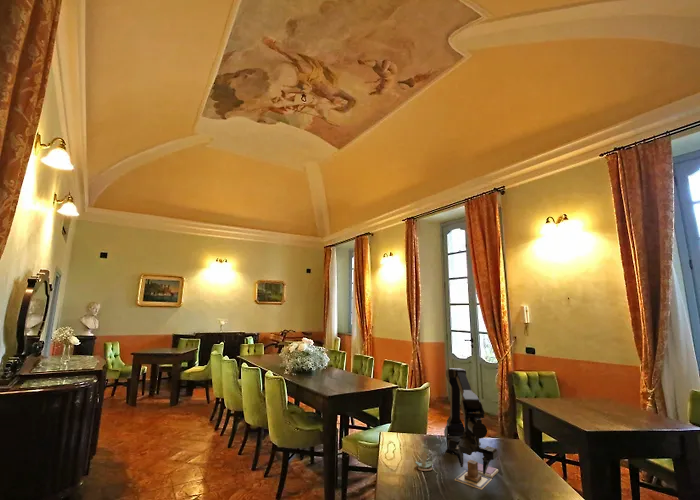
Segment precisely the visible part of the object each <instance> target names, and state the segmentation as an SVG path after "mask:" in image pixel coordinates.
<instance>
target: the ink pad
mask: <svg viewBox="0 0 700 500" xmlns="http://www.w3.org/2000/svg"><path fill="white" fill-rule="evenodd" d="M498 473H499V469H498V468H495V467H493V466H489V465H488V467H487V470H486V473H485V475H484V474H483V463H479V462H478V474H480V475H482V476H485V477H488V478H491V479H492V478H494V476H496V475H497V474H498Z"/></svg>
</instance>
